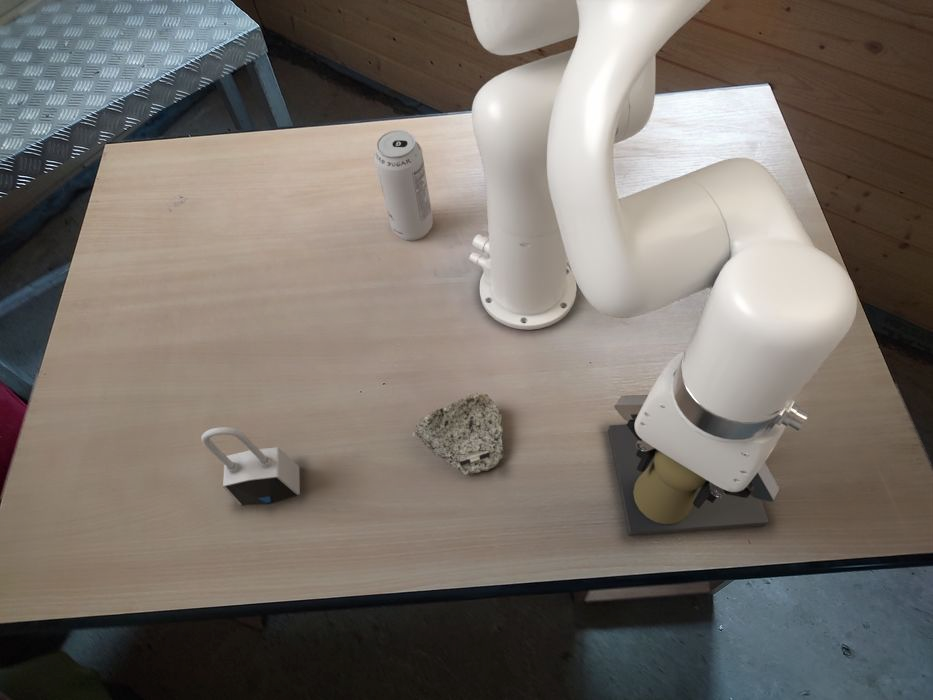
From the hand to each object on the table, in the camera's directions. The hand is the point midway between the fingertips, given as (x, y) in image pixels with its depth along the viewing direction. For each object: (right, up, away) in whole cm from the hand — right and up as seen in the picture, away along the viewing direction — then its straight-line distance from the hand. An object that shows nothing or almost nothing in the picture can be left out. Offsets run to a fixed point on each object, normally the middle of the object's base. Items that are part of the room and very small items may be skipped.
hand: (674, 476), depth 60 cm
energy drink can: (-28, +30, +30) cm, 50 cm away
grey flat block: (+3, -2, +8) cm, 8 cm away
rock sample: (-19, +2, +12) cm, 23 cm away
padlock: (-42, -3, +10) cm, 43 cm away
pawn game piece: (0, -3, +5) cm, 6 cm away
